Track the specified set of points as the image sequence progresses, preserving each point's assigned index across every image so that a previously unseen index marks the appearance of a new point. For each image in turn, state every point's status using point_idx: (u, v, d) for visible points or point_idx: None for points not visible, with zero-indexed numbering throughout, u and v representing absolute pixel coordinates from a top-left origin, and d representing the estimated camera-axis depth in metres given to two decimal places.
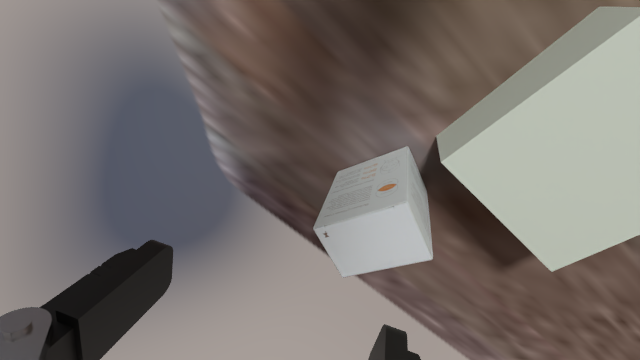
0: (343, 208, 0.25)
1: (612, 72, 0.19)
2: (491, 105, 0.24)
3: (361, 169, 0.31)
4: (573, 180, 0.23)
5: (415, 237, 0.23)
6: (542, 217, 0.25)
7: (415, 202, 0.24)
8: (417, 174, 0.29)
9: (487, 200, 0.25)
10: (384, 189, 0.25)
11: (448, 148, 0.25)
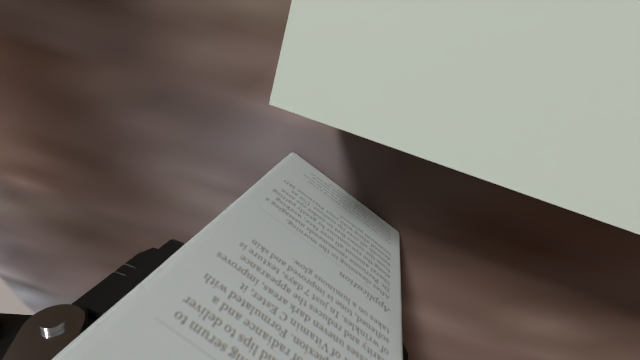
0: None
1: None
2: None
3: None
4: None
5: None
6: None
7: (214, 342, 0.05)
8: (330, 205, 0.11)
9: (540, 172, 0.05)
10: None
11: None
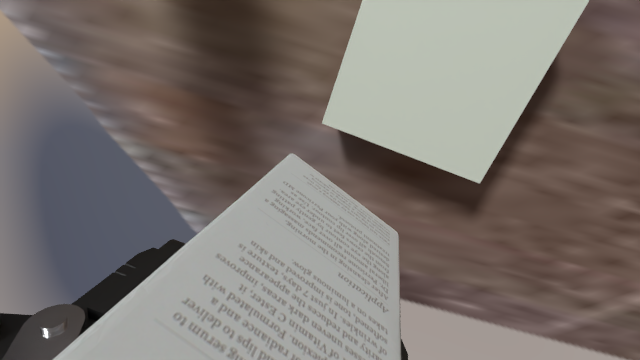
0: None
1: None
2: None
3: None
4: (431, 86, 0.24)
5: None
6: (433, 133, 0.25)
7: (212, 343, 0.05)
8: (329, 206, 0.11)
9: (378, 139, 0.26)
10: None
11: None
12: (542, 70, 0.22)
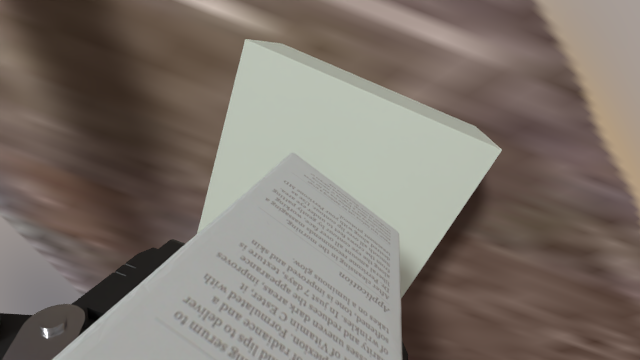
0: None
1: (262, 106, 0.17)
2: None
3: None
4: None
5: None
6: None
7: (213, 342, 0.05)
8: (330, 206, 0.11)
9: None
10: None
11: None
12: (444, 224, 0.17)
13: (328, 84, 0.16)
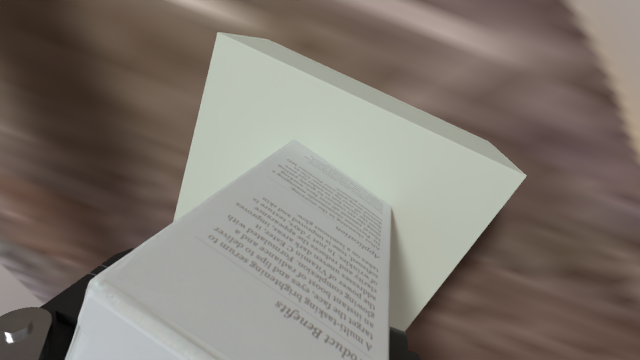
0: None
1: (238, 114, 0.14)
2: None
3: None
4: None
5: None
6: None
7: (238, 256, 0.06)
8: (328, 180, 0.12)
9: None
10: None
11: None
12: (453, 260, 0.14)
13: (317, 90, 0.13)
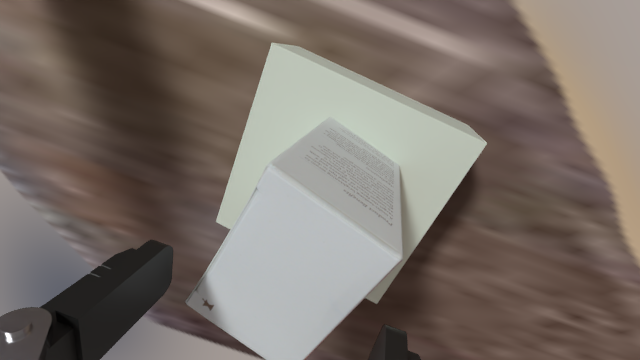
0: None
1: (283, 101, 0.20)
2: None
3: None
4: None
5: (333, 228, 0.10)
6: None
7: (321, 168, 0.12)
8: (356, 143, 0.18)
9: None
10: None
11: None
12: (437, 207, 0.20)
13: (341, 83, 0.19)
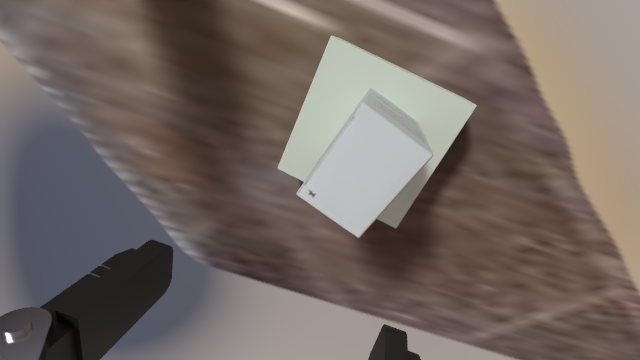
0: (319, 160, 0.22)
1: (336, 76, 0.29)
2: None
3: None
4: None
5: (396, 138, 0.19)
6: None
7: (383, 110, 0.21)
8: (392, 104, 0.26)
9: None
10: None
11: None
12: (442, 152, 0.29)
13: (378, 64, 0.27)
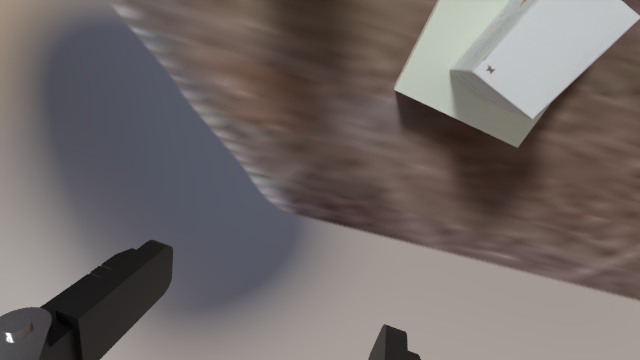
0: (492, 41, 0.22)
1: None
2: (417, 42, 0.33)
3: (477, 40, 0.28)
4: None
5: None
6: (485, 103, 0.31)
7: None
8: None
9: (440, 106, 0.32)
10: None
11: (398, 80, 0.34)
12: None
13: None
